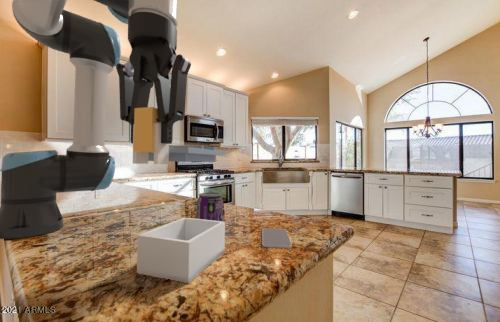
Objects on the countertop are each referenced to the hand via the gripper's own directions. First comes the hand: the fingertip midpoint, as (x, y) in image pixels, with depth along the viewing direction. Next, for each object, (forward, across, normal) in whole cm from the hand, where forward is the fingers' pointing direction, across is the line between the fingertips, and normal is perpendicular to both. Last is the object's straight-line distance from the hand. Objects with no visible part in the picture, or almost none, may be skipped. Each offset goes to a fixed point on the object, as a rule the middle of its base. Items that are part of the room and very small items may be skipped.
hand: (150, 163), depth 39 cm
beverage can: (+21, -2, +26) cm, 33 cm away
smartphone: (+21, +15, +32) cm, 41 cm away
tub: (+20, 0, +11) cm, 23 cm away
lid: (0, 0, +8) cm, 8 cm away
